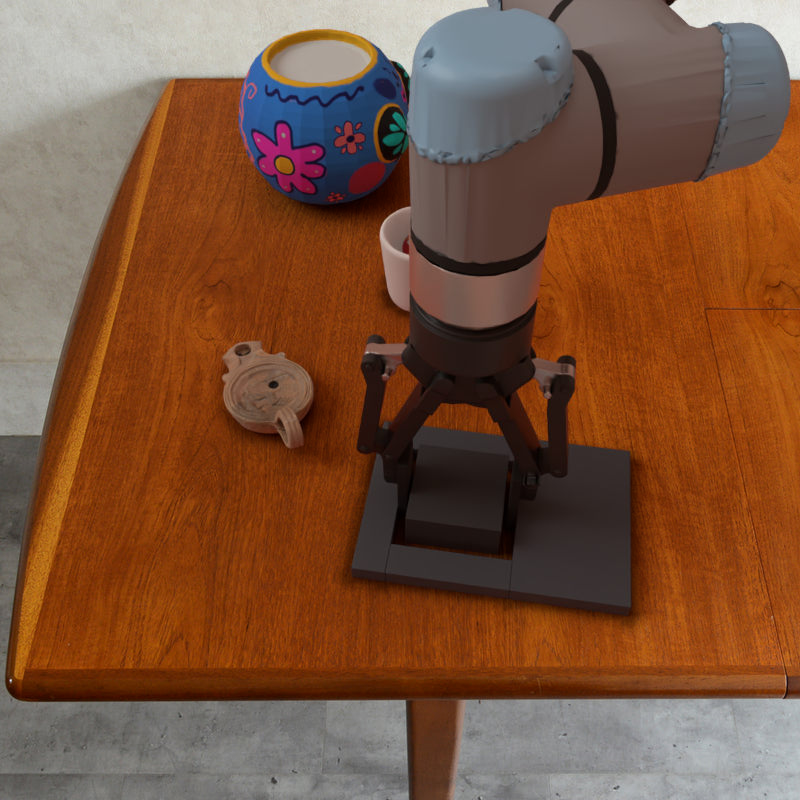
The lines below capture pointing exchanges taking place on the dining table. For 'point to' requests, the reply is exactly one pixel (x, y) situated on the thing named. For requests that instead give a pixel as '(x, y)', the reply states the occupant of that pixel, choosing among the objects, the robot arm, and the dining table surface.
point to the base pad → (520, 534)
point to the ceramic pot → (324, 115)
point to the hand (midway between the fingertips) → (458, 509)
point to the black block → (457, 499)
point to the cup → (397, 255)
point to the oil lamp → (267, 391)
